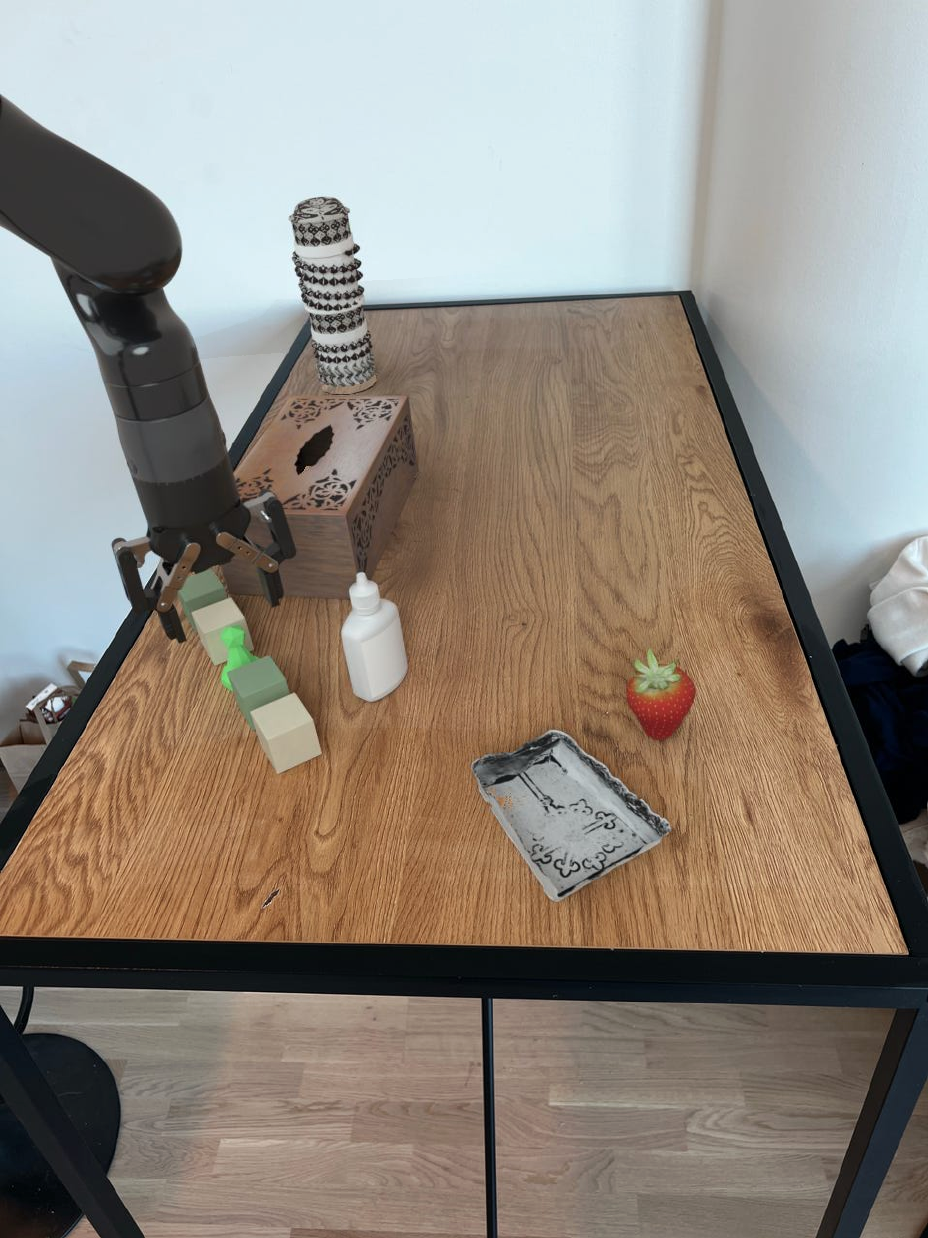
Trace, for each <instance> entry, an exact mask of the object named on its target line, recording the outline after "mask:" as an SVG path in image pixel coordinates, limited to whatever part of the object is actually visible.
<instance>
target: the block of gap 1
mask: <svg viewBox="0 0 928 1238" xmlns="http://www.w3.org/2000/svg"><path fill="white" fill-rule="evenodd" d="M192 616H193V619H194V622H195V625H196V628H197V631H198V633H197V634H198V636H199V639H200V643H201V645H202V647H203V648H204V650H205V652H206V654H207V655H208V657H209V659H210V660H211V662H212V664H213V665H214V666H219V665H222V664H223V663H227V661H228V654H229V649H228V648H227V647H226V645H225V644H224V643H223V642H222V640H221V638H220V637H221V634H222V631H223V628H226V627H230V626H234V625H239V626H240V627H241V628H242V630H243V631H244V632H245V635H246V637H245V640H244V643H243V646H244V647H245V648H246V649H247V650H248V651H249V652H250V653H251V652H252V651H253V652H254V650H255V648H254V644H253V640H252V637H251V634H250V630H249V626H248V623H247V621H246V617H245V615H244V614H243V612H242V611H241V609H240V607H238V605H237V603H236V602H235V600H234V599H233V598H232V597H230V596H229V597H228V598H227V599H225V600H222V601H220V602H217V603H214V604H212V605H209V606H207V607H204V608H201V609H199V610H196V611H193V612H192Z"/></svg>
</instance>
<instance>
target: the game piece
mask: <svg viewBox="0 0 928 1238" xmlns="http://www.w3.org/2000/svg"><path fill="white" fill-rule="evenodd" d="M245 637H246V635H245V632H244V631H243V630H242V628H241V627H240V626H239V625H234V626H230V627H226V628H223V631H222V634H221V637H220V638H221V640H222V642H223V643H224V644H225V645H226V647H227V648H228V649H229V654H228V661H226V665H225V666H224V667H223V669H222V672H221V676H220V680H221V684H222V686H223V687H225V688H226V689H228V690H229V691H231V692H232V693H233V690H232V687H231V684H230V681H229V678H228V675H227V672H229V671H231V670H234V669H236V668H238V667H241V666H243V665H246V664H248V663H251V662H253V661H255V660H258V659H260V657H258V656H256V655H253V654H252V653H251V651H250V652H249V651H248V650H247V649H246V648H245V647H244V646H243V643H244V640H245Z"/></svg>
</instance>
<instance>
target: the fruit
mask: <svg viewBox="0 0 928 1238" xmlns="http://www.w3.org/2000/svg"><path fill="white" fill-rule="evenodd" d="M646 658H647V664H648V666H646V665H645V664H644V663H643V662H642V661H640V660H639V658H638V657H636V658H635V660H634V663H633V667H634V668H635V670H636V671H638V672H637V673H635V674H633V673H632V672H629V674H630V675H631V676H632V677H631V678H630V679H629V680H628V683H627V685H626V691H625V695H626V698H625V699H626V702H627V704H628V707H629V710H631V711H632V713H633V714H634V716H636V717H637V720H638V721H639V724H640V725H641V728H642V729H643V731H644V733H645V734H646V736H647V737H649V738H651V739H652V740H656V741H660V740H661V741H663V740H666V739H668V738H670V737H671V736H672V735H673V734H674V733H675V732H676V731H677V730H678V729H679V727H680V726H681V724H682V722H683V720H684V719H685V717H686V716H687V714H688V713H689V711H690V710H691V708H692V706H693V704H694V702H695V699H696V694H697V693H696V689H697V688H696V686H695V683H694V681H693V680H692V678H691V677H690V675H688V674H687V673H686V672H685V671H684V670H683V669H681V668H679V667H678V666H677V665H676V663H677V661H678V660H679V656H677V658H676V660H675V661H673V662H672V663H670V664H666V663H659V664H658V660H657V657H656V656H655V655H654V652H653V650H652V648H651V647H649V649H648V650H647V653H646Z"/></svg>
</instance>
